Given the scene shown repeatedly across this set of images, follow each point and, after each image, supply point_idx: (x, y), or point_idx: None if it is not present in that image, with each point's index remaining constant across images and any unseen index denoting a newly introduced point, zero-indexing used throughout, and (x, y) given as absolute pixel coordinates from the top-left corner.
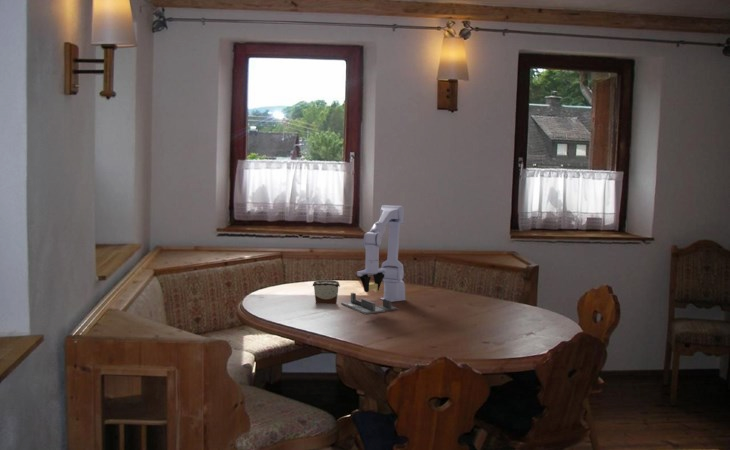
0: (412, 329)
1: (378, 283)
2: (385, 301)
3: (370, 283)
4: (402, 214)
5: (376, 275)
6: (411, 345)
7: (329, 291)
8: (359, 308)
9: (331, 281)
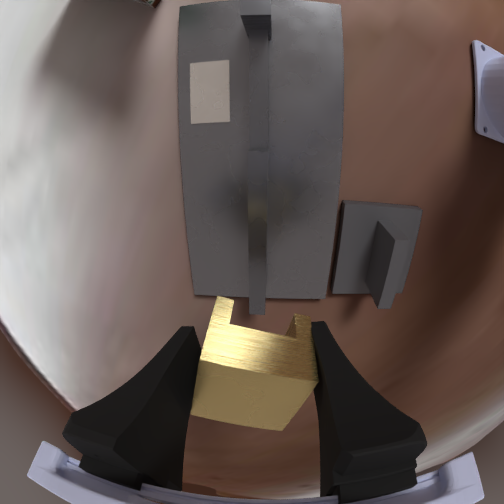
0: (246, 446)
1: (318, 411)
2: (384, 263)
3: (232, 398)
4: None
5: (329, 472)
6: (185, 468)
7: None
8: (204, 202)
9: None
